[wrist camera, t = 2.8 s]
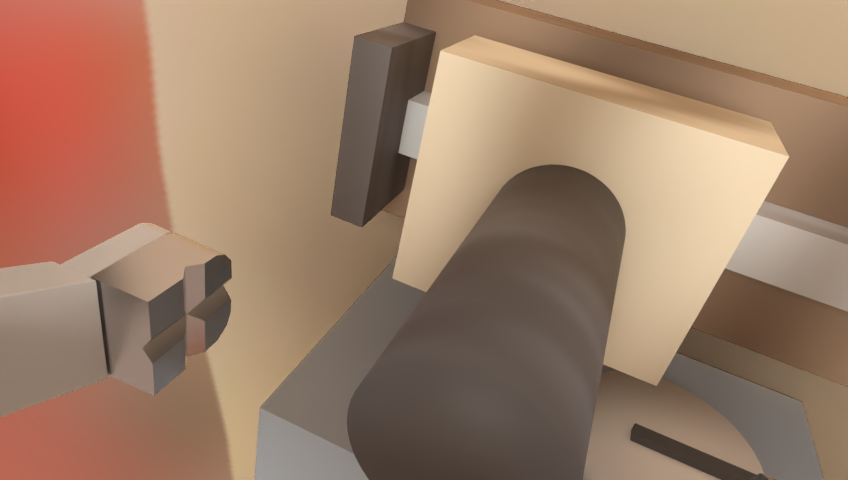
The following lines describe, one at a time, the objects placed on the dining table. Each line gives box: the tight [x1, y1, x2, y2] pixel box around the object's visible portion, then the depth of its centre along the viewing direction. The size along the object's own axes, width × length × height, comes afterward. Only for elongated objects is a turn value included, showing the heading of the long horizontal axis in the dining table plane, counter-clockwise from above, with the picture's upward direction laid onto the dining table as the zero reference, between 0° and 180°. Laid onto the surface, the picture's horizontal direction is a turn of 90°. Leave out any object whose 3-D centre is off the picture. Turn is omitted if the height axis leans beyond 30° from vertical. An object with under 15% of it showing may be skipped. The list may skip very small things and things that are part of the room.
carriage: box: [347, 35, 789, 480], centre depth 12 cm, size 7×6×11 cm
